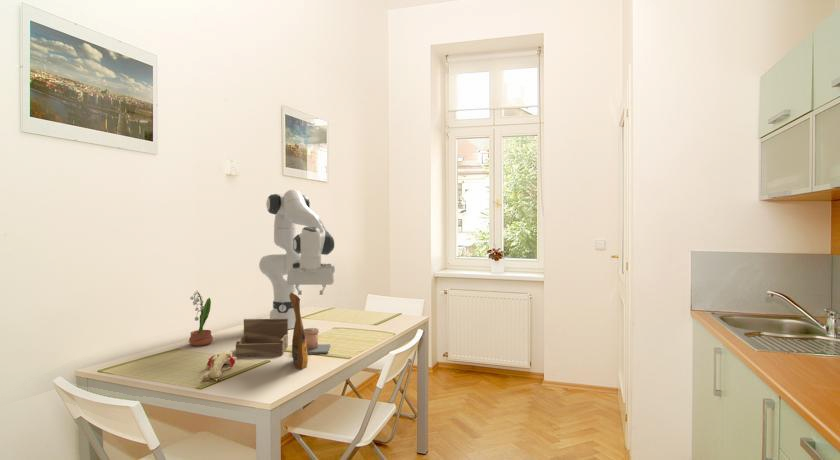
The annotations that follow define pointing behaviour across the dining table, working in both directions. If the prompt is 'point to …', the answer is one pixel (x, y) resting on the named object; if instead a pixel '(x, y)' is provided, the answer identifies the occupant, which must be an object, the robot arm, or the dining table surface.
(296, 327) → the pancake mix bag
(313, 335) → the terracotta pot
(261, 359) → the dining table surface
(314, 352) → the rubber mat
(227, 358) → the cream toy figurine
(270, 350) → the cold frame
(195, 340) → the potted flower
